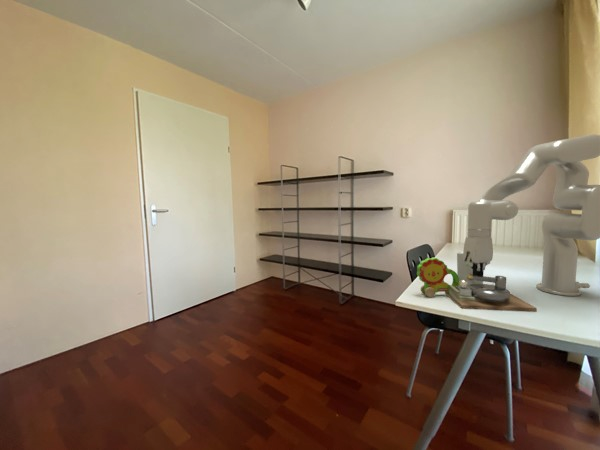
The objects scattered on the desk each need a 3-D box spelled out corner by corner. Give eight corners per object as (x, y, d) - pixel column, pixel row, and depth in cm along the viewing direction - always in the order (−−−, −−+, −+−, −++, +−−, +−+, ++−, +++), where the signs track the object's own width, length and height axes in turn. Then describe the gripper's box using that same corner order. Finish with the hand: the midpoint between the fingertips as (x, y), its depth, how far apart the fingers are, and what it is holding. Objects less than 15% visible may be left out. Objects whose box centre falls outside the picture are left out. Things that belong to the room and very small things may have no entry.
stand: (507, 295, 99) (508, 283, 99) (536, 311, 85) (537, 298, 84) (444, 293, 103) (445, 282, 103) (461, 308, 89) (462, 295, 88)
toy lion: (453, 293, 103) (454, 256, 103) (461, 298, 98) (462, 259, 97) (414, 293, 104) (415, 256, 103) (420, 297, 99) (420, 258, 98)
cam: (487, 290, 100) (488, 271, 100) (519, 303, 87) (520, 281, 87) (459, 291, 99) (459, 273, 99) (487, 305, 86) (488, 283, 86)
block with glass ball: (466, 294, 97) (466, 278, 96) (471, 298, 93) (472, 281, 92) (454, 294, 98) (455, 278, 97) (459, 298, 94) (460, 281, 93)
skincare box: (483, 286, 110) (484, 253, 109) (476, 289, 107) (478, 254, 105) (462, 281, 117) (463, 250, 116) (455, 284, 114) (456, 251, 112)
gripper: (484, 231, 103) (483, 275, 104) (455, 233, 99) (454, 279, 101) (503, 233, 95) (502, 280, 97) (472, 236, 92) (471, 284, 93)
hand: (477, 279), depth 99 cm, fingers closed
